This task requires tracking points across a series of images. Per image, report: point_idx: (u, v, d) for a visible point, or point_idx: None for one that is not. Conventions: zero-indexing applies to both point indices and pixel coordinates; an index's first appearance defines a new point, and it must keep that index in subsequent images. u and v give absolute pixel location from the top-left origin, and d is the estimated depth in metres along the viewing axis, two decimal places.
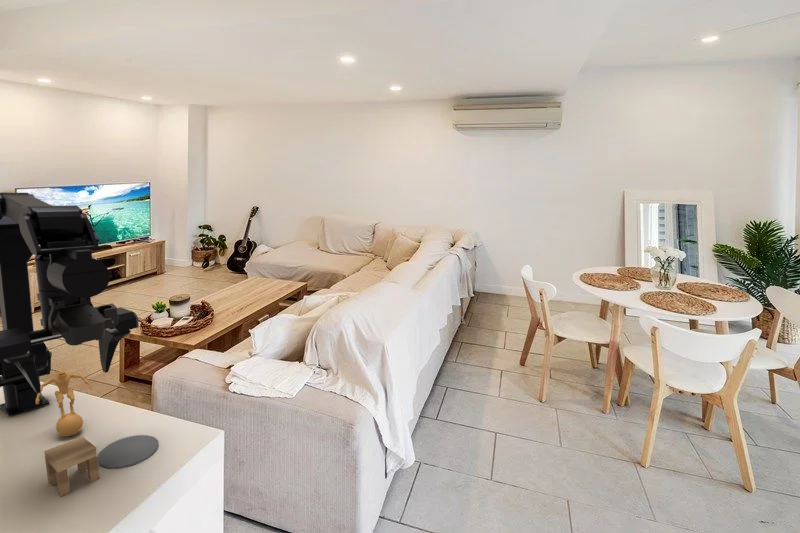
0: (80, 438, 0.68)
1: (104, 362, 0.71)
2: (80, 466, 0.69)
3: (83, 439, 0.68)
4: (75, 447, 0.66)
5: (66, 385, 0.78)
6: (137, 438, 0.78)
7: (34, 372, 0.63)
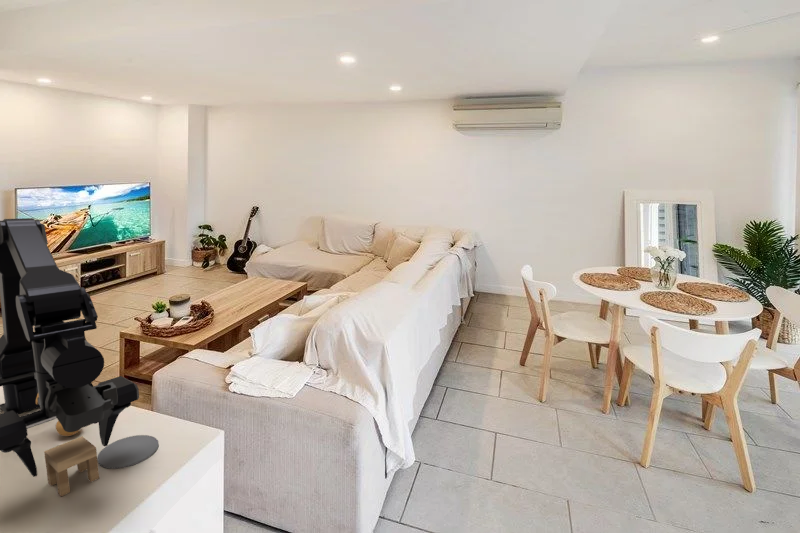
0: (80, 438, 0.68)
1: (103, 436, 0.69)
2: (80, 466, 0.69)
3: (83, 439, 0.68)
4: (75, 447, 0.66)
5: None
6: (137, 438, 0.78)
7: (30, 457, 0.61)
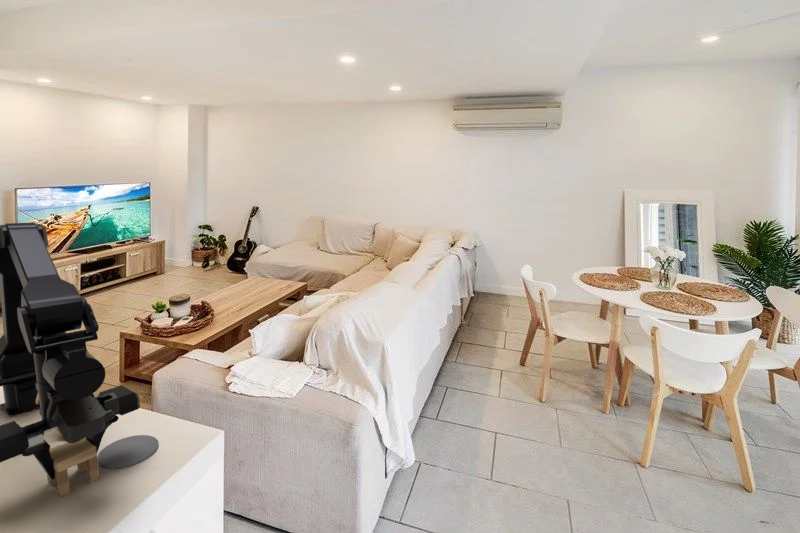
0: None
1: None
2: (80, 466, 0.69)
3: (83, 439, 0.68)
4: (75, 447, 0.66)
5: None
6: (137, 438, 0.78)
7: (49, 460, 0.63)
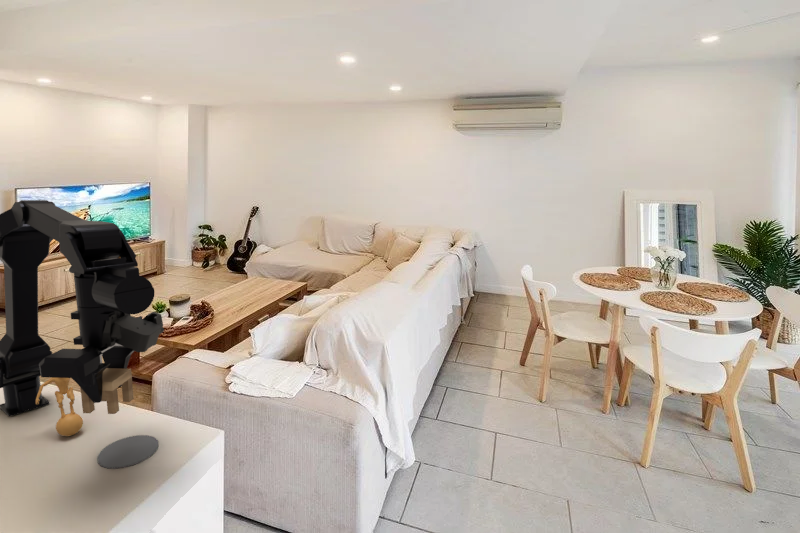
0: None
1: None
2: (105, 395, 0.72)
3: (106, 368, 0.71)
4: (109, 372, 0.70)
5: (66, 385, 0.78)
6: (137, 438, 0.78)
7: (101, 381, 0.66)
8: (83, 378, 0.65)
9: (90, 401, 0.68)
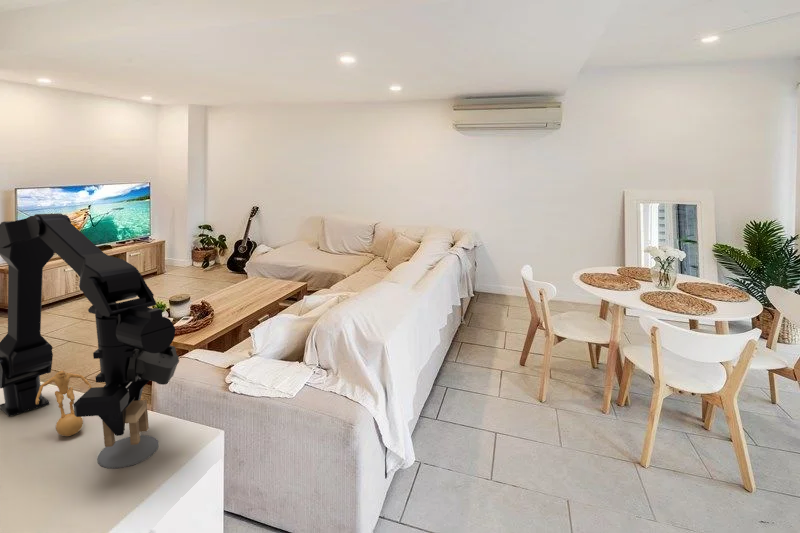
0: None
1: None
2: None
3: None
4: None
5: (66, 385, 0.78)
6: None
7: (125, 415, 0.70)
8: None
9: (112, 434, 0.71)
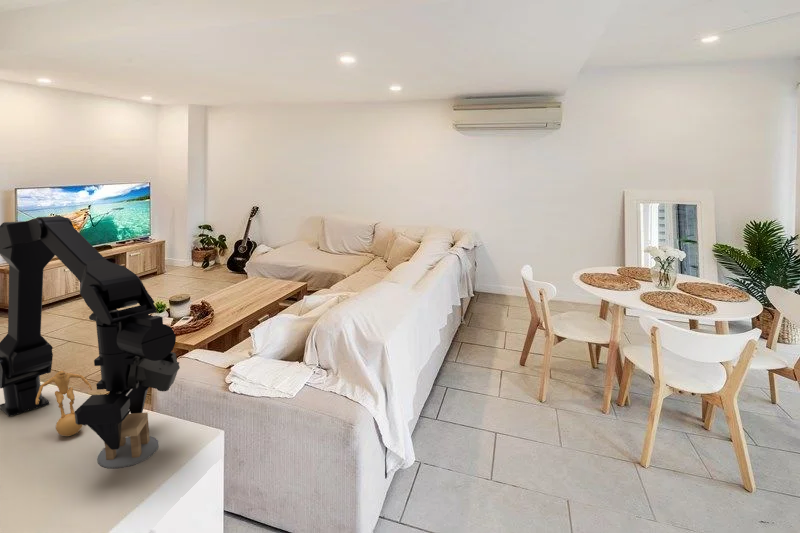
0: None
1: (138, 410, 0.78)
2: (122, 440, 0.75)
3: None
4: (128, 418, 0.74)
5: (66, 385, 0.78)
6: None
7: (120, 429, 0.68)
8: (103, 427, 0.67)
9: None
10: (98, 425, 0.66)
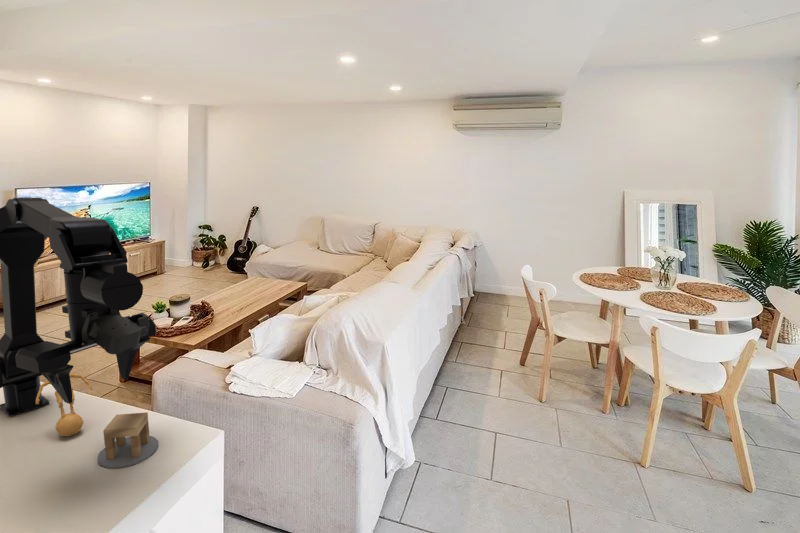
0: (118, 415, 0.75)
1: (124, 369, 0.74)
2: (122, 440, 0.75)
3: (122, 414, 0.75)
4: (128, 418, 0.74)
5: None
6: None
7: (68, 383, 0.64)
8: (53, 377, 0.64)
9: (113, 448, 0.71)
10: None
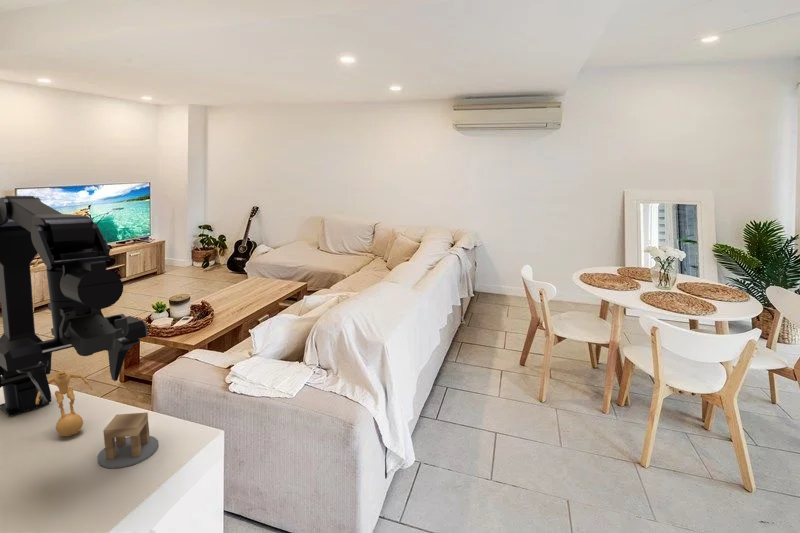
0: (118, 415, 0.75)
1: (113, 371, 0.72)
2: (122, 440, 0.75)
3: (122, 414, 0.75)
4: (128, 418, 0.74)
5: (66, 385, 0.79)
6: None
7: (45, 382, 0.63)
8: None
9: (113, 448, 0.71)
10: None
